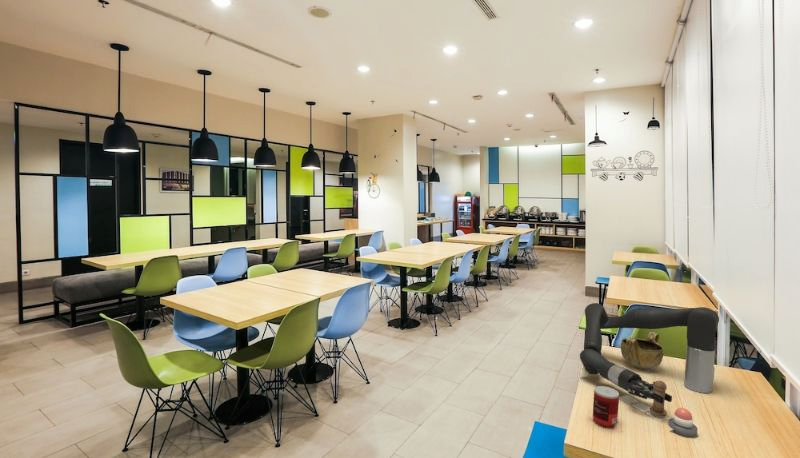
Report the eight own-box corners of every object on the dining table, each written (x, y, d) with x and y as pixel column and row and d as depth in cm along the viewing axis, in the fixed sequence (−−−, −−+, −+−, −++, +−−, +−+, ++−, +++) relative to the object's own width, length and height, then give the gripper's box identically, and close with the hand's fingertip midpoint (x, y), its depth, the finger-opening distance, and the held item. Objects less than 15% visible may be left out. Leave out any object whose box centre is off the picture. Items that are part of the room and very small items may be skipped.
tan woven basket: (646, 379, 173) (649, 345, 172) (608, 364, 187) (610, 333, 186) (672, 368, 184) (674, 336, 183) (634, 355, 199) (636, 326, 198)
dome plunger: (680, 417, 137) (681, 403, 137) (696, 426, 133) (697, 411, 132) (669, 420, 136) (670, 406, 135) (685, 428, 131) (686, 414, 130)
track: (628, 396, 157) (628, 393, 157) (674, 421, 140) (674, 418, 140) (613, 399, 154) (613, 396, 154) (657, 425, 137) (658, 422, 137)
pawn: (656, 407, 145) (659, 377, 144) (670, 415, 140) (672, 383, 139) (646, 410, 143) (648, 378, 142) (659, 417, 138) (662, 385, 137)
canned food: (615, 418, 141) (617, 387, 140) (619, 430, 134) (621, 398, 133) (591, 413, 144) (592, 384, 143) (593, 425, 136) (595, 394, 135)
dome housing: (678, 422, 139) (679, 416, 139) (702, 435, 132) (703, 429, 132) (662, 425, 137) (662, 420, 137) (685, 439, 129) (686, 433, 129)
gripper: (637, 385, 157) (681, 407, 141) (609, 390, 152) (651, 413, 136) (638, 366, 156) (682, 386, 140) (610, 371, 152) (653, 392, 135)
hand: (667, 400), depth 138 cm, fingers closed on pawn, 3 cm apart
